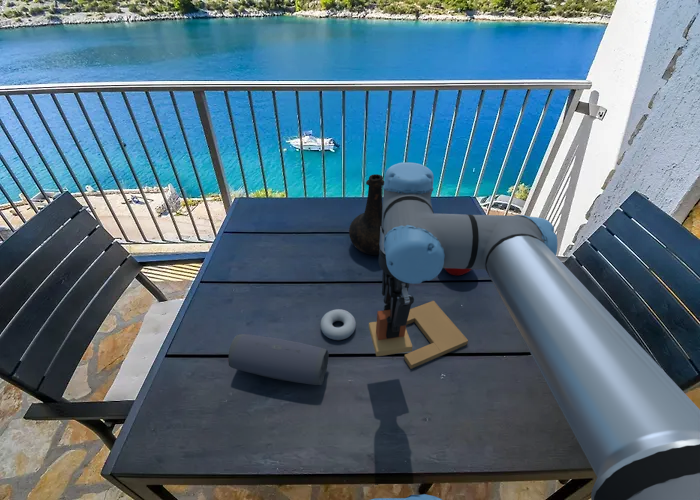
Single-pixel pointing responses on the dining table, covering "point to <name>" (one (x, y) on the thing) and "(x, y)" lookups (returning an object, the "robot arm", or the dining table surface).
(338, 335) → the donut
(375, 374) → the dining table surface
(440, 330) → the base pad
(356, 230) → the glass bottle
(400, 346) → the open box
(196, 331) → the dining table surface
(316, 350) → the bluetooth speaker
